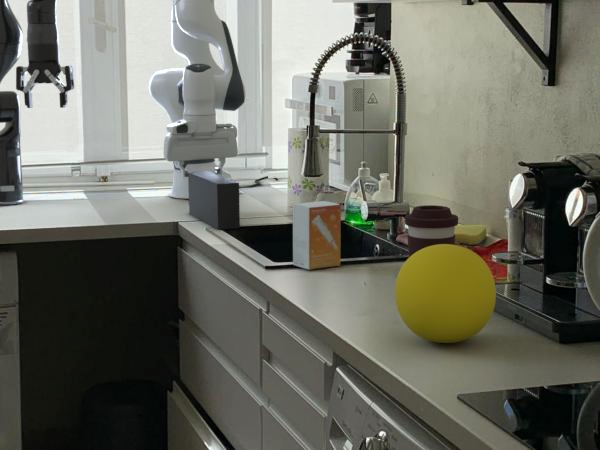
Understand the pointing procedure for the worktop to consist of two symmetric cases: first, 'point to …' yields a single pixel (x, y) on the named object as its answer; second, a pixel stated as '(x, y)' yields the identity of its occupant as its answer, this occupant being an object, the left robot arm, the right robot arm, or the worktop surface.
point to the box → (214, 199)
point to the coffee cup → (430, 227)
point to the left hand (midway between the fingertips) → (46, 107)
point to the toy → (445, 293)
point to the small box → (316, 234)
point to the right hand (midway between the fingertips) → (201, 175)
